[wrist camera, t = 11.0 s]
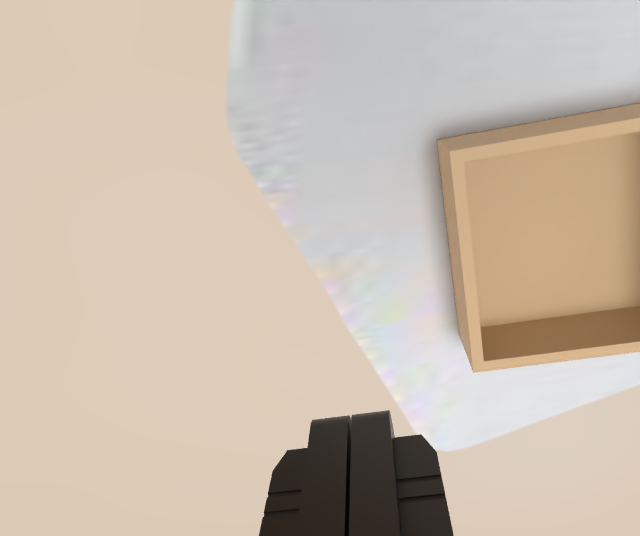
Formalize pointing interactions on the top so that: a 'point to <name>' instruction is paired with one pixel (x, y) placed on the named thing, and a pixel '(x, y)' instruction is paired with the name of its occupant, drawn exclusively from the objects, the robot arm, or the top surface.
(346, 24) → the top surface
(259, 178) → the top surface
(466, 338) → the tray
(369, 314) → the top surface
